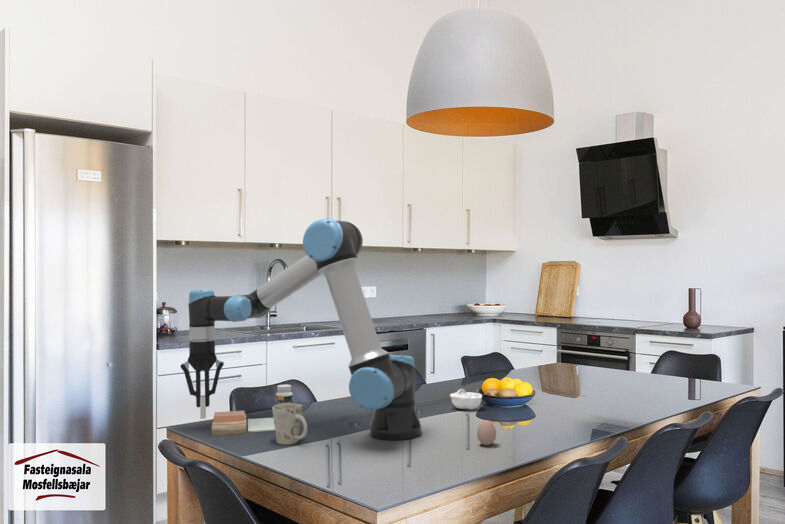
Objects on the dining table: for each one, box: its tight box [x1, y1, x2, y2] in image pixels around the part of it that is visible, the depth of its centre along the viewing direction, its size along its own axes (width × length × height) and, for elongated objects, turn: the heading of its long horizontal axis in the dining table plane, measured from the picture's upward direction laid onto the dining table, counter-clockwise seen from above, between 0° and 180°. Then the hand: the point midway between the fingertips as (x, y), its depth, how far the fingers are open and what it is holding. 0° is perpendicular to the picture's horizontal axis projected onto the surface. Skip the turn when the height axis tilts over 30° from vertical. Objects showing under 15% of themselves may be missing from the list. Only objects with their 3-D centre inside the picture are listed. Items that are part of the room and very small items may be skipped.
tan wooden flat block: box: [211, 413, 248, 437], centre depth 204 cm, size 16×10×2 cm, turn 13°
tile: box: [213, 410, 246, 423], centre depth 204 cm, size 9×6×2 cm, turn 103°
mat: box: [247, 417, 275, 433], centre depth 208 cm, size 16×12×1 cm
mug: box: [272, 402, 308, 446], centre depth 186 cm, size 8×13×10 cm, turn 51°
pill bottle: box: [275, 384, 294, 405], centre depth 221 cm, size 6×6×10 cm
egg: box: [476, 419, 497, 447], centre depth 180 cm, size 5×5×7 cm
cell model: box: [449, 388, 483, 411], centre depth 226 cm, size 10×12×7 cm
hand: (203, 417), depth 202 cm, fingers closed
